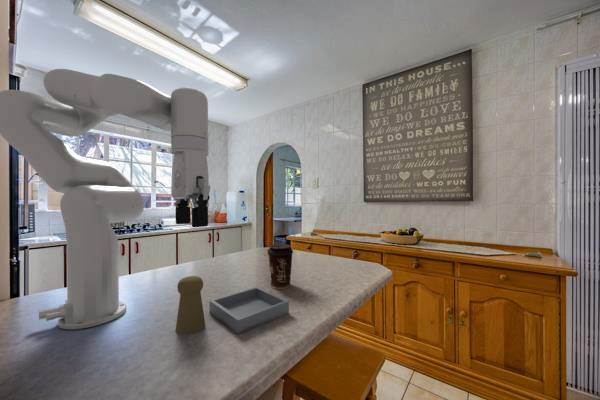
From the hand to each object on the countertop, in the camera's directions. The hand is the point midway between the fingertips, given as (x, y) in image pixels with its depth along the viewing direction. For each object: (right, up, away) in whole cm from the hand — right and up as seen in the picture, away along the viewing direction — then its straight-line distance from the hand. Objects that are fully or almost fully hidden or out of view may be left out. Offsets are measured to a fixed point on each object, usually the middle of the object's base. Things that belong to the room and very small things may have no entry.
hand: (191, 225), depth 55 cm
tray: (+11, -22, +7) cm, 26 cm away
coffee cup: (+18, -23, +26) cm, 39 cm away
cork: (0, -23, 0) cm, 23 cm away
